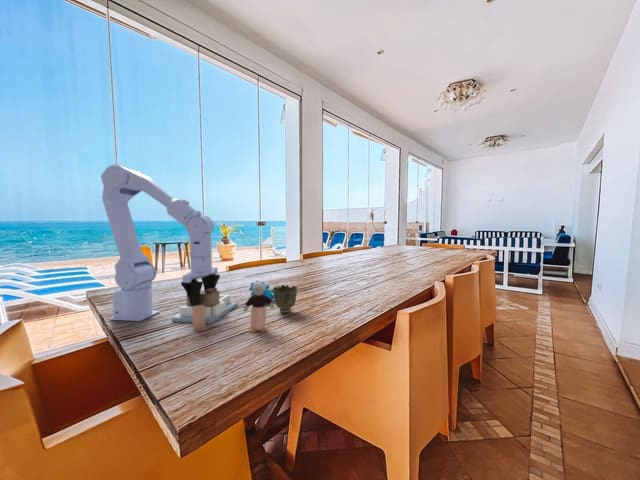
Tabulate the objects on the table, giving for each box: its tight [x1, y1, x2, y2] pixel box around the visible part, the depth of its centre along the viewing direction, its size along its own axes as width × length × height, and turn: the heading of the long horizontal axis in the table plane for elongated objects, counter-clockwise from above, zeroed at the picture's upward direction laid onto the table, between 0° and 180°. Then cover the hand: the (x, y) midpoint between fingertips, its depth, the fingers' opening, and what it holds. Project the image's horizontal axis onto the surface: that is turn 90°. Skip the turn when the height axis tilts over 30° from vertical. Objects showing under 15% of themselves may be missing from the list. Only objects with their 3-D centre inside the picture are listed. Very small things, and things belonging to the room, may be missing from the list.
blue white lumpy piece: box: [249, 280, 275, 306], centre depth 92 cm, size 11×6×10 cm
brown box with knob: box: [186, 287, 220, 315], centre depth 78 cm, size 8×4×7 cm, turn 82°
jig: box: [171, 294, 238, 324], centre depth 80 cm, size 12×16×4 cm
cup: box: [272, 284, 298, 315], centre depth 80 cm, size 8×7×8 cm
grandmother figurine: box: [243, 281, 275, 334], centre depth 67 cm, size 8×4×13 cm, turn 117°
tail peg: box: [192, 305, 207, 332], centre depth 68 cm, size 3×3×6 cm
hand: (202, 301), depth 78 cm, fingers open, 7 cm apart
